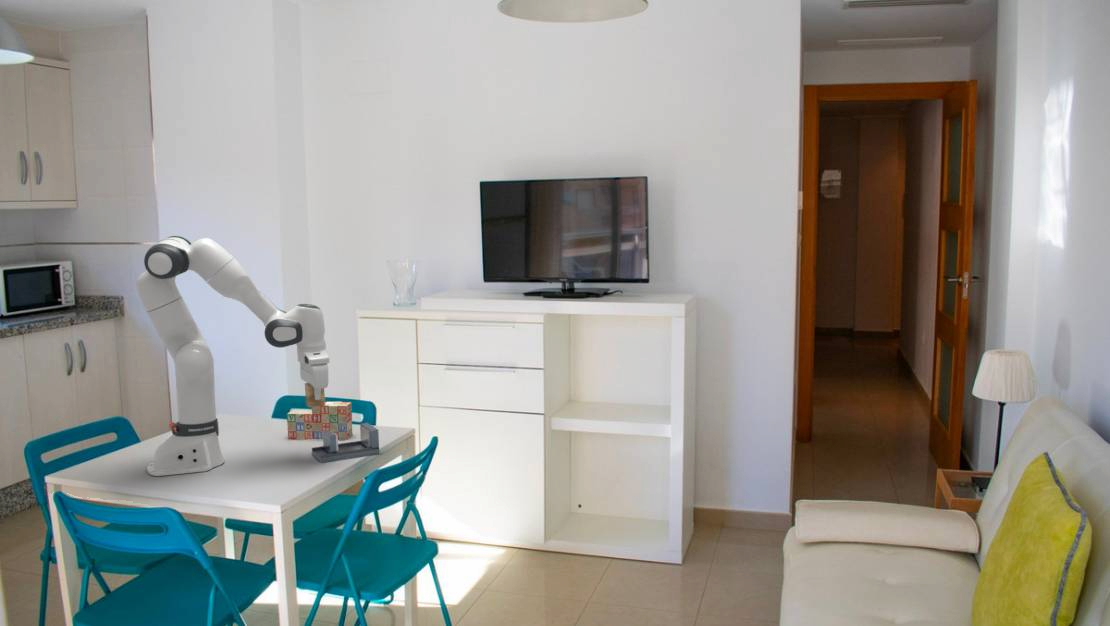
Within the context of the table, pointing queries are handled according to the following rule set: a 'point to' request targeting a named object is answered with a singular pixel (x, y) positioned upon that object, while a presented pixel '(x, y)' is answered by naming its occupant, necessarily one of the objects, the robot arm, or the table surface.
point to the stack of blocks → (321, 421)
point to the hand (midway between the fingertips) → (315, 397)
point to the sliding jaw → (330, 441)
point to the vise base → (352, 446)
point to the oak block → (310, 396)
